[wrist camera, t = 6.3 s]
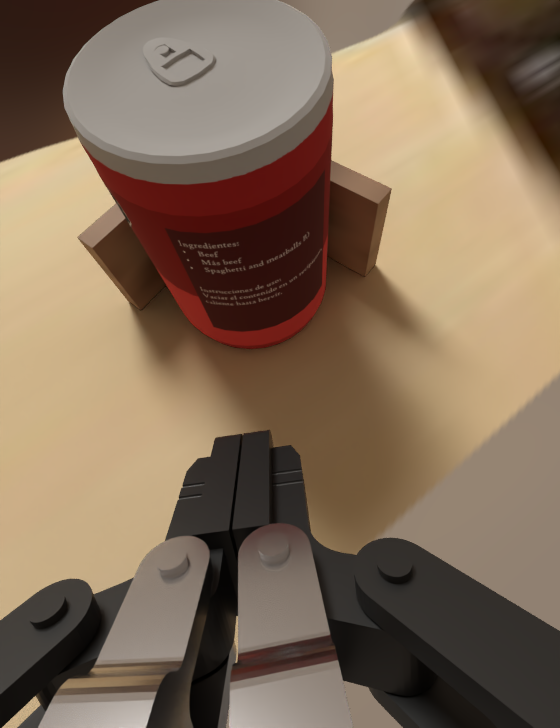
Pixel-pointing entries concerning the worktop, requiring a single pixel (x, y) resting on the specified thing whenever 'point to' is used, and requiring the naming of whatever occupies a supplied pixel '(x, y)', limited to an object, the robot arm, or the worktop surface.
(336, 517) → the worktop surface
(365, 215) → the v-block stop
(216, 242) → the canned food
